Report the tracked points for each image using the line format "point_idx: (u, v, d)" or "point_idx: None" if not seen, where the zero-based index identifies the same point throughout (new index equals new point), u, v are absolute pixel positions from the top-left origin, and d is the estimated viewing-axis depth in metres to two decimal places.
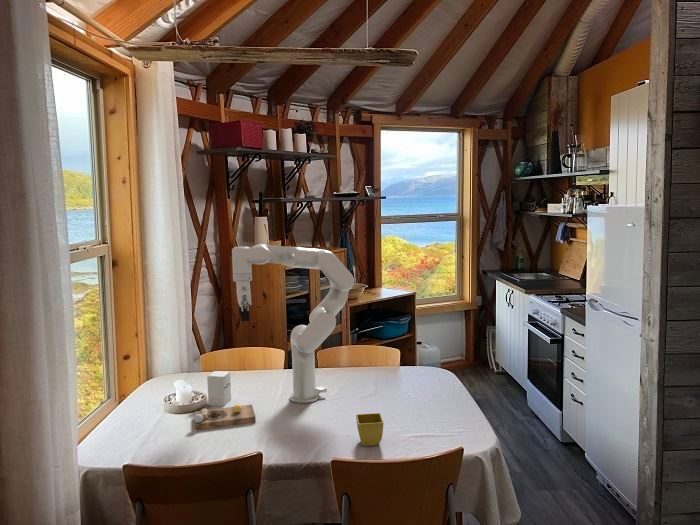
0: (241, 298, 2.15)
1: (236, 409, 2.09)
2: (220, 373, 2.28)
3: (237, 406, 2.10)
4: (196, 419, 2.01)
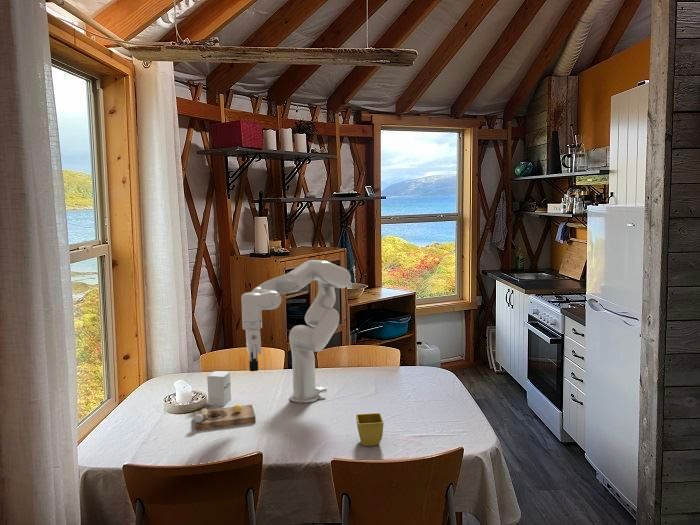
0: (251, 347, 2.05)
1: (236, 409, 2.09)
2: (220, 373, 2.28)
3: (237, 406, 2.10)
4: (196, 419, 2.01)
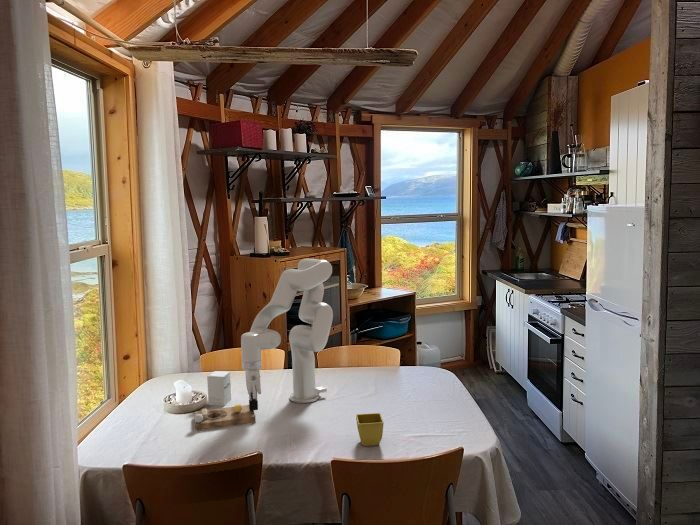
0: (250, 388, 2.06)
1: (236, 409, 2.09)
2: (220, 373, 2.28)
3: (237, 406, 2.10)
4: (196, 419, 2.01)
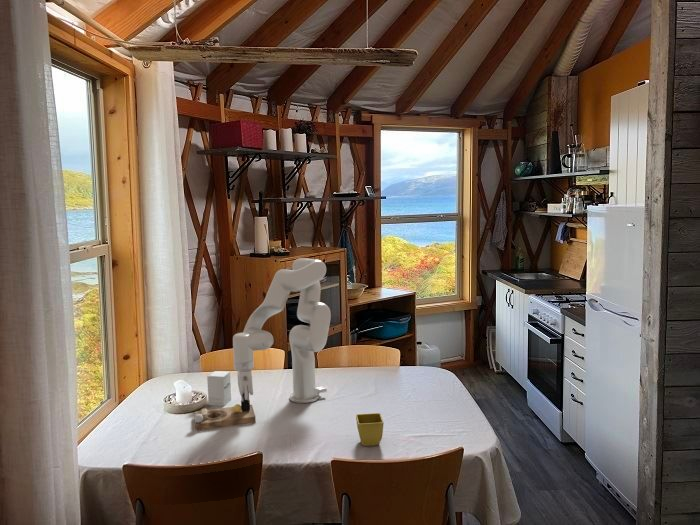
0: (242, 389, 2.06)
1: (235, 409, 2.09)
2: (220, 373, 2.28)
3: (236, 406, 2.10)
4: (196, 419, 2.01)
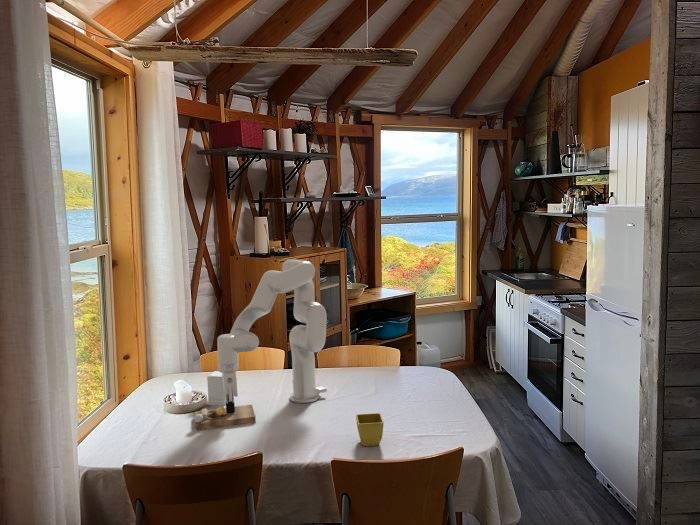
0: (227, 390, 2.04)
1: (222, 410, 2.08)
2: (220, 373, 2.28)
3: (223, 412, 2.08)
4: (196, 419, 2.01)
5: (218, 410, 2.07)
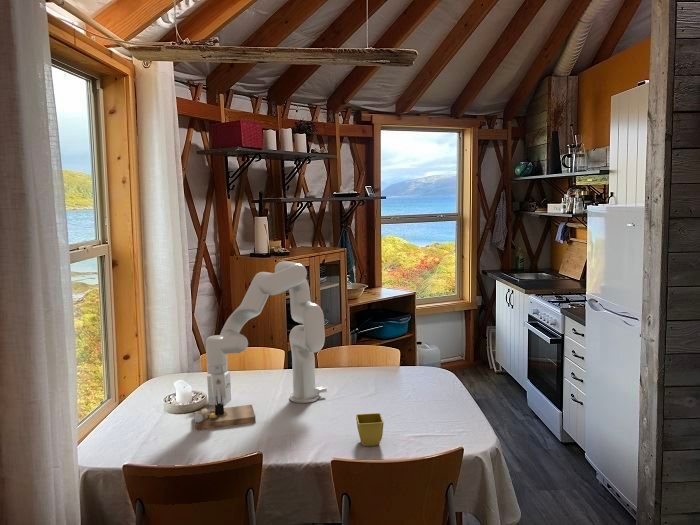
0: (215, 392, 2.03)
1: (210, 415, 2.08)
2: None
3: (212, 413, 2.09)
4: (196, 419, 2.01)
5: None
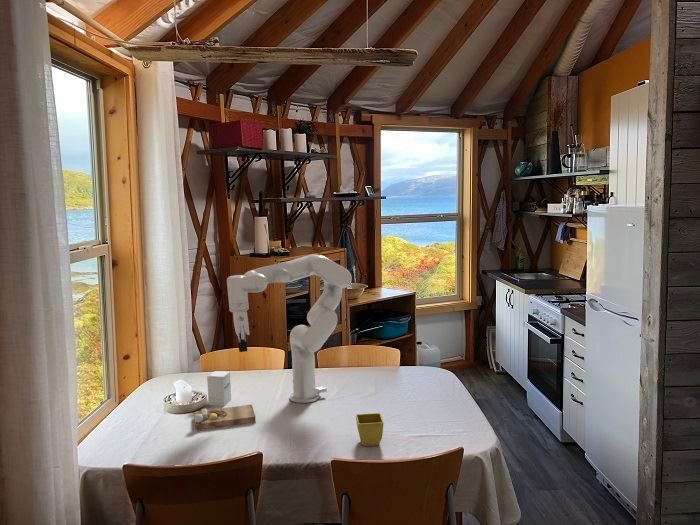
0: (239, 329, 2.10)
1: (210, 415, 2.08)
2: (220, 373, 2.28)
3: (212, 413, 2.09)
4: (196, 419, 2.01)
5: None
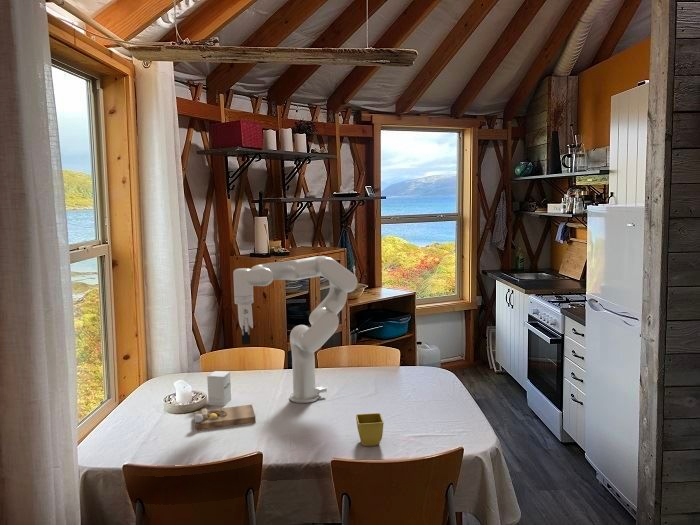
0: (243, 321, 2.12)
1: (210, 415, 2.08)
2: (220, 373, 2.28)
3: (212, 413, 2.09)
4: (196, 419, 2.01)
5: None
